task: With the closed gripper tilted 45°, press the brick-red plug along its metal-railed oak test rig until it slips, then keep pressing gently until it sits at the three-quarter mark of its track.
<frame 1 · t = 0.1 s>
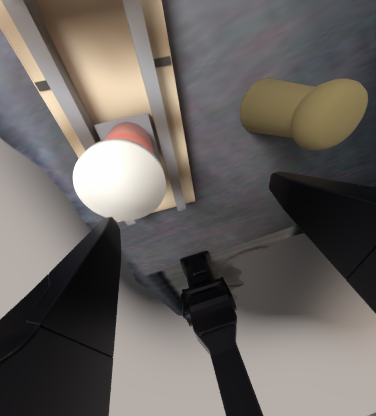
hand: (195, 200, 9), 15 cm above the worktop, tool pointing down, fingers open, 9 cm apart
cork: (260, 107, 21), on the worktop
plug rig: (129, 129, 19), on the worktop
red plug: (128, 158, 14), point 7 cm above the worktop, slide at 0.0 cm
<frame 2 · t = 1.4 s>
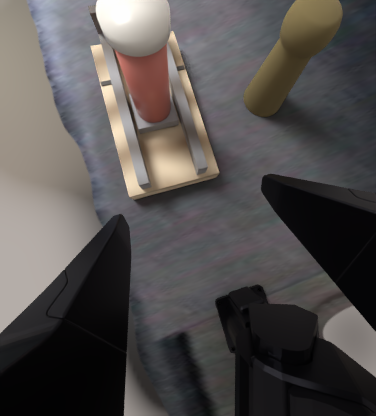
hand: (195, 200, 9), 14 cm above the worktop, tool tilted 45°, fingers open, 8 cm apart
cork: (261, 100, 26), on the worktop
plug rig: (155, 117, 24), on the worktop
red plug: (147, 76, 17), point 7 cm above the worktop, slide at 0.0 cm
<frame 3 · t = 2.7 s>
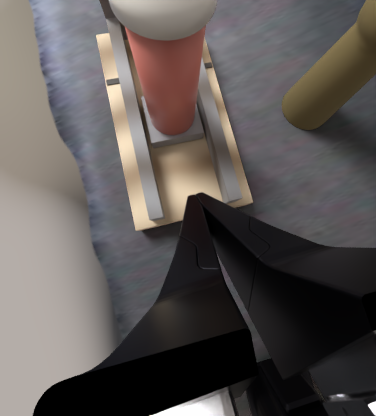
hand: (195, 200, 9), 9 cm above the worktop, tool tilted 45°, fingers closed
cork: (303, 109, 21), on the worktop
plug rig: (171, 126, 19), on the worktop
red plug: (169, 74, 12), point 7 cm above the worktop, slide at 0.0 cm
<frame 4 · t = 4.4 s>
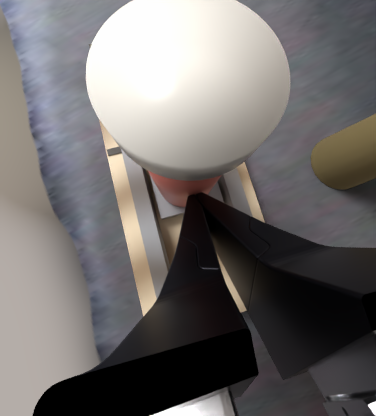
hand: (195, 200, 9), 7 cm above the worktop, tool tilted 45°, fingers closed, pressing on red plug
cork: (336, 163, 18), on the worktop
plug rig: (184, 193, 16), on the worktop
red plug: (185, 158, 9), point 7 cm above the worktop, slide at 1.3 cm, touching gripper
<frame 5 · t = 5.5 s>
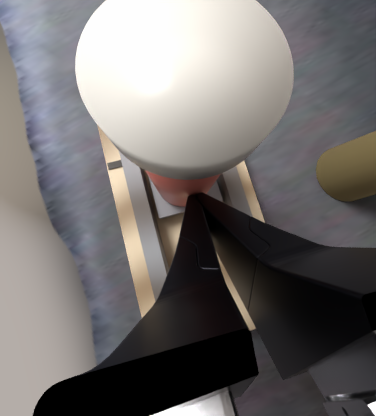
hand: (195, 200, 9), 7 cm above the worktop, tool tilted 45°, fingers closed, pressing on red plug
cork: (341, 174, 17), on the worktop
plug rig: (187, 206, 16), on the worktop
red plug: (183, 156, 9), point 7 cm above the worktop, slide at 2.8 cm, touching gripper
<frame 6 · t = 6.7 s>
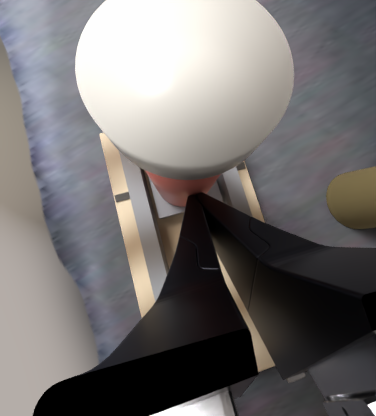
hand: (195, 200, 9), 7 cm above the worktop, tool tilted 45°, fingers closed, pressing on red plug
cork: (352, 200, 17), on the worktop
plug rig: (195, 235, 16), on the worktop
red plug: (183, 156, 9), point 7 cm above the worktop, slide at 5.8 cm, touching gripper
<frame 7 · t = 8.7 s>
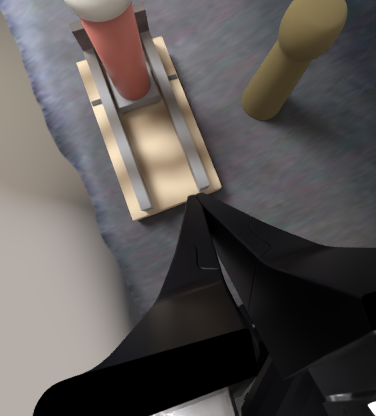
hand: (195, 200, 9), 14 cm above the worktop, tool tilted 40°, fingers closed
cork: (260, 101, 24), on the worktop
plug rig: (151, 132, 23), on the worktop
red plug: (119, 48, 16), point 7 cm above the worktop, slide at 5.8 cm
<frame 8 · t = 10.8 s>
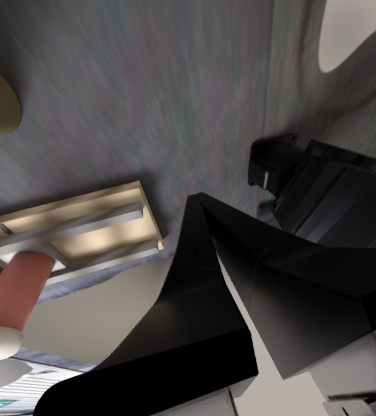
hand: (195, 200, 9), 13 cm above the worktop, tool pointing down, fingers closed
plug rig: (79, 234, 24), on the worktop
red plug: (14, 293, 18), point 7 cm above the worktop, slide at 5.8 cm
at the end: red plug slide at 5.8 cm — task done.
